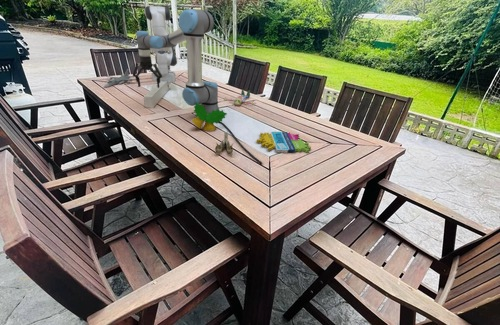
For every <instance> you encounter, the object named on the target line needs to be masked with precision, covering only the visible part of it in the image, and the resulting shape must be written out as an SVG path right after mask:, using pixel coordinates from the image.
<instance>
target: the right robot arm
mask: <svg viewBox="0 0 500 325" xmlns="http://www.w3.org/2000/svg"><path fill="white" fill-rule="evenodd" d="M214 22H215V20H214V17H213V15H212V14H211V13H210V12H209V11H207V10H203V9H202V10H201V9H193V8H190V9H188V8H187V9H184V10H183V11H181V13H180V15H179V16H178V27H179V28H178V29H175V30H174V31H172V32H170V33H168V35H166V36H155V35H149V31H147V30H137V31H136V42H137V48H138V49H137V50H138V55H139V62H136V63H135V67H134V69H133V73H132V76H134V77H133V78H135V79H136V80H135V82H136V83H137V87H138V88H140V87H141V78H140V75H141V73H143V71H152V72H151V73H152V74H154V75H155V76H156V77H157V82H156V85H157V87H158V88H159V83H160V78H162V74H161V73H160V71H159V69H158V64H157V63H153V62H152V54H151V53H152V52H151V49H150V48H154V49H161V48H167V47H175V48H176V47H177V45H178V44H181V43H183V42H185V41H186V61H187V63H186V65H187V81H186V82H185V88H183V90H182V92H181V95H182V99H183V101H184V103H185V104H187V105H188V106H191V107H194V106H196V102H197V103H198V104H201V106H204V109H206V112H208V113H211V112H212V110H214V111H216V110H217V109H219V111H221V110H220V107H219V102H218V99H219V98H218V97H219V87H218V84H217V82H214V81H208V80H203V64H202V63H203V61H202V60H203V57H202V56H203V54H202V51H203V50H202V41H203V39H204V38H205V34H206V33H209V32H211V31H212V30H213V28H214V25H215V23H214ZM139 67H140V69H139ZM138 69H139V71H138ZM155 69H156V71H157V73H158V74H157V73H156V72H155V71H154V70H155ZM137 71H138V72H137ZM208 113H207V115H208ZM218 123H220V124H222V126H224V127H225V129H227V131H228V132H229V133H230V135H231V136H232V137H233V138H234V139H235V141H236V142H237V144H239V146H240V147H241V148H242V149H243V150H244V151H245V152H246V153H247V154H248V155H249V156H250V157H252V158H253V159H254V160H255V161H257V162H258V163H259V164H261V165H262V164H263V162H262V161H261V160H259V159H258V158H257V157H256V156H254V155H253V154H252V153H251V152H249V150H247V148H246V147H245V146H244V145H243V144H242V143H241V141H240V140H238V138H237V137H236V136H235V134H234V133H233V132H232V131H231V129H229V127H228V126H227V125H226V124H225V123H223V121H222V122H221V121H219V122H218Z"/></svg>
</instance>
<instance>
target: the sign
mask: <svg viewBox="0 0 500 325" xmlns="http://www.w3.org/2000/svg"><path fill="white" fill-rule="evenodd" d="M299 136H300V135H299V134H298V133H296V134H294V133H291V132H287V131H270V132H264V133H263V132H260V133H259V139H258V138H257V139H256V143H257V144H261V148H263V147H264V148H265V149H267V151H268V152H271V151H272V150H273V149H275V152H276V153H283V154H285V153H287V154H288V153H290V154H293V153H296V152H298V153H301V152H305V153H310V151H311V150H312V149H311V148H312V146H309V142H304V141H303V139H302V138H299Z"/></svg>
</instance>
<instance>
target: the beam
mask: <svg viewBox="0 0 500 325" xmlns="http://www.w3.org/2000/svg"><path fill="white" fill-rule="evenodd" d="M168 85H169V82H167V81H160V83H159V88H158V87H157V84H156V85H154V86H153V87H152V89H150V90H149V91H148V92H147V93H146V94H145V95H144V96H143V99H144V100H143V101H144V107H145V109H153V108H155V107H156V106H157V104H158V103H159V102H160V101H161V99H162V98H163V97H164V96H165V95H166V94H167V92H168V91H169V90H170V89H171V88H170V87H168Z"/></svg>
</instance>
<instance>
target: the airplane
mask: <svg viewBox="0 0 500 325" xmlns="http://www.w3.org/2000/svg"><path fill="white" fill-rule="evenodd" d="M129 69H130V68H126V71H125V73H124V74H120V76H119V77H118V76H109V75H105V76H106V78H109V79H108V82H107V83H106V84H105V85H104V86H102V88H109V87H111V86H115V85H118V84H119V85H121V84H125V83H130V82H132V81H136V78H135V77H134V76H133V75H130V73H129Z"/></svg>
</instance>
